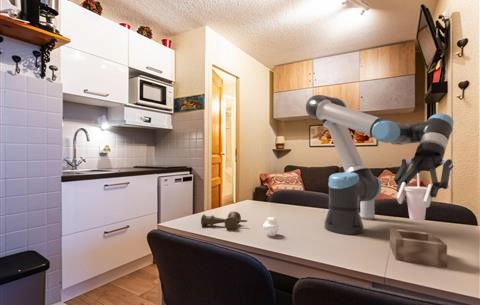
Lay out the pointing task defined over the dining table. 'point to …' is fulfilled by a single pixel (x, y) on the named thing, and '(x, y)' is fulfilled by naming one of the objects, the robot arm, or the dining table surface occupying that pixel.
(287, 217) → the dining table surface
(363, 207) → the travel mug
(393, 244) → the brown open square box
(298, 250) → the dining table surface
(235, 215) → the kendama
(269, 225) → the white vase
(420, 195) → the smoothie
